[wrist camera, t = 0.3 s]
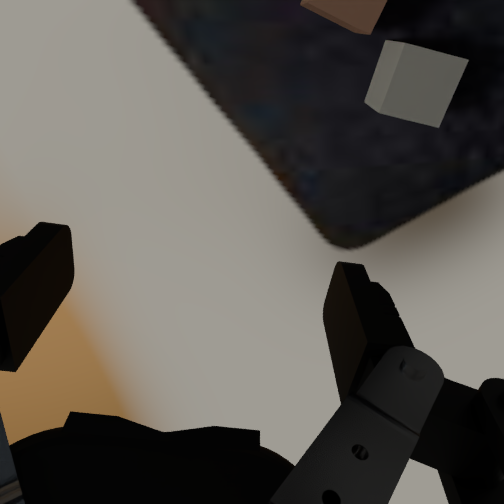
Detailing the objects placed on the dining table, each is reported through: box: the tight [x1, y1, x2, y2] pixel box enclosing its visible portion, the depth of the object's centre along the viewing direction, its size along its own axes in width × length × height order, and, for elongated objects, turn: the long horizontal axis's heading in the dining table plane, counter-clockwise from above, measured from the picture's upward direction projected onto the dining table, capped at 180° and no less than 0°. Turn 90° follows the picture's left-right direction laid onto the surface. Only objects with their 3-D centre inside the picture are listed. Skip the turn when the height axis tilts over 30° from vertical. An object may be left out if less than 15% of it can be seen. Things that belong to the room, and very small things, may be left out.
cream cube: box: [364, 40, 469, 128], centre depth 33 cm, size 5×5×5 cm
